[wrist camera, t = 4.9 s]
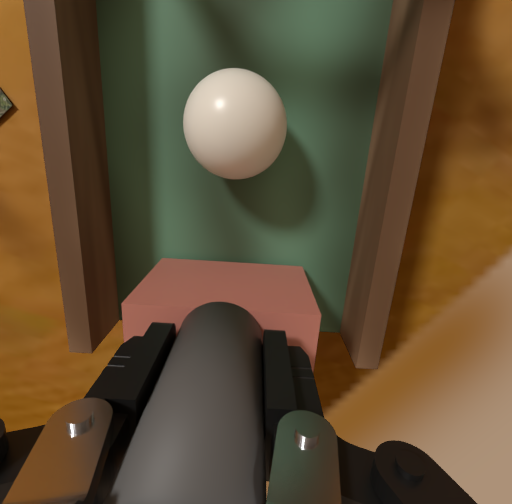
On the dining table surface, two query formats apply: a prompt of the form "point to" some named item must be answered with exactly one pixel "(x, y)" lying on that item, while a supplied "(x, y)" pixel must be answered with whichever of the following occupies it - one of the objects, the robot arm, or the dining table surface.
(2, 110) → the eiffel tower figurine
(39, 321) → the dining table surface
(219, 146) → the ball
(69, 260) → the pitch
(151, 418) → the striker
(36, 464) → the robot arm
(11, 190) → the dining table surface
